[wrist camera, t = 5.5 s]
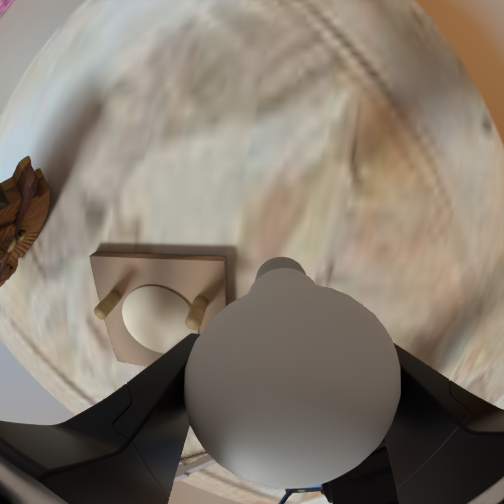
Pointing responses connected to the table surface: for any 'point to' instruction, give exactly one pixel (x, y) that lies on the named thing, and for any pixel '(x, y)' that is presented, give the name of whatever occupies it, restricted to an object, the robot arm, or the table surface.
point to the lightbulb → (292, 381)
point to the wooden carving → (21, 214)
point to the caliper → (193, 467)
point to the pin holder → (156, 300)
